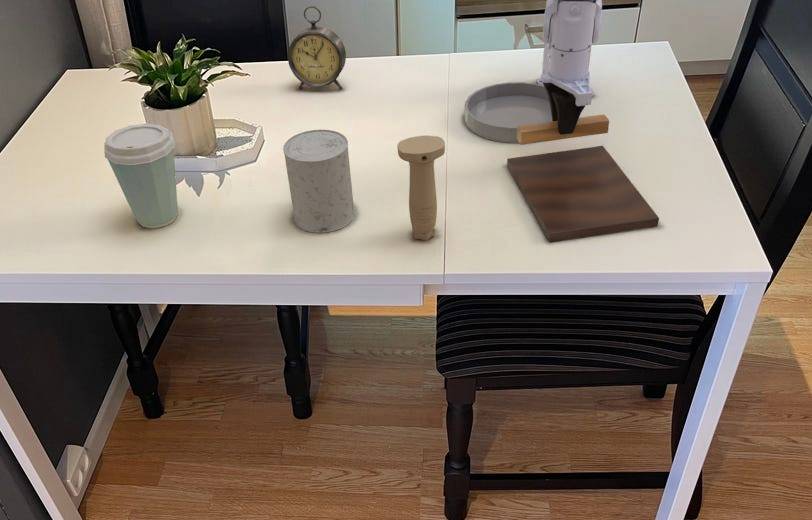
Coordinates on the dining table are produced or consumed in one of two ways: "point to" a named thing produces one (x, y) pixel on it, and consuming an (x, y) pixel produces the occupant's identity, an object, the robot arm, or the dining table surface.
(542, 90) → the tin
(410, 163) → the handle
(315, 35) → the alarm clock
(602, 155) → the board
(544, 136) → the stick
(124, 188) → the disposable coffee cup
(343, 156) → the grey mottled cylinder
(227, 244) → the dining table surface
